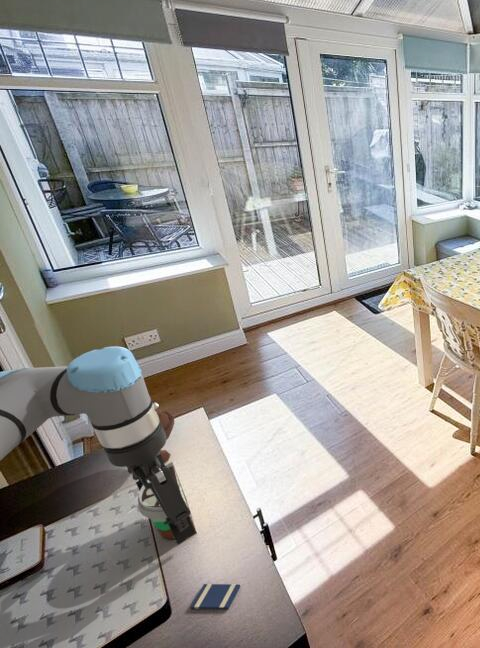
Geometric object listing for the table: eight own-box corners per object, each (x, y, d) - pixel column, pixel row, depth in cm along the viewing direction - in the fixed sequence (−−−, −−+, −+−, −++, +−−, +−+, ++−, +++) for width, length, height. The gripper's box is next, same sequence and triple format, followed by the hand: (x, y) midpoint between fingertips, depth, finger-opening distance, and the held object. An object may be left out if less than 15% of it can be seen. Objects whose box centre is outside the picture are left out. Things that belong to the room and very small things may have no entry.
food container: (147, 514, 81) (130, 478, 77) (185, 495, 85) (171, 459, 81) (157, 562, 73) (139, 525, 69) (198, 538, 77) (184, 502, 73)
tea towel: (191, 609, 67) (190, 606, 67) (204, 585, 70) (203, 583, 70) (228, 609, 67) (227, 607, 67) (240, 586, 70) (239, 584, 70)
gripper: (192, 450, 66) (224, 537, 75) (131, 392, 78) (165, 473, 86) (134, 485, 60) (176, 575, 69) (77, 416, 72) (120, 501, 80)
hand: (170, 519), depth 78 cm, fingers closed on food container, 12 cm apart
